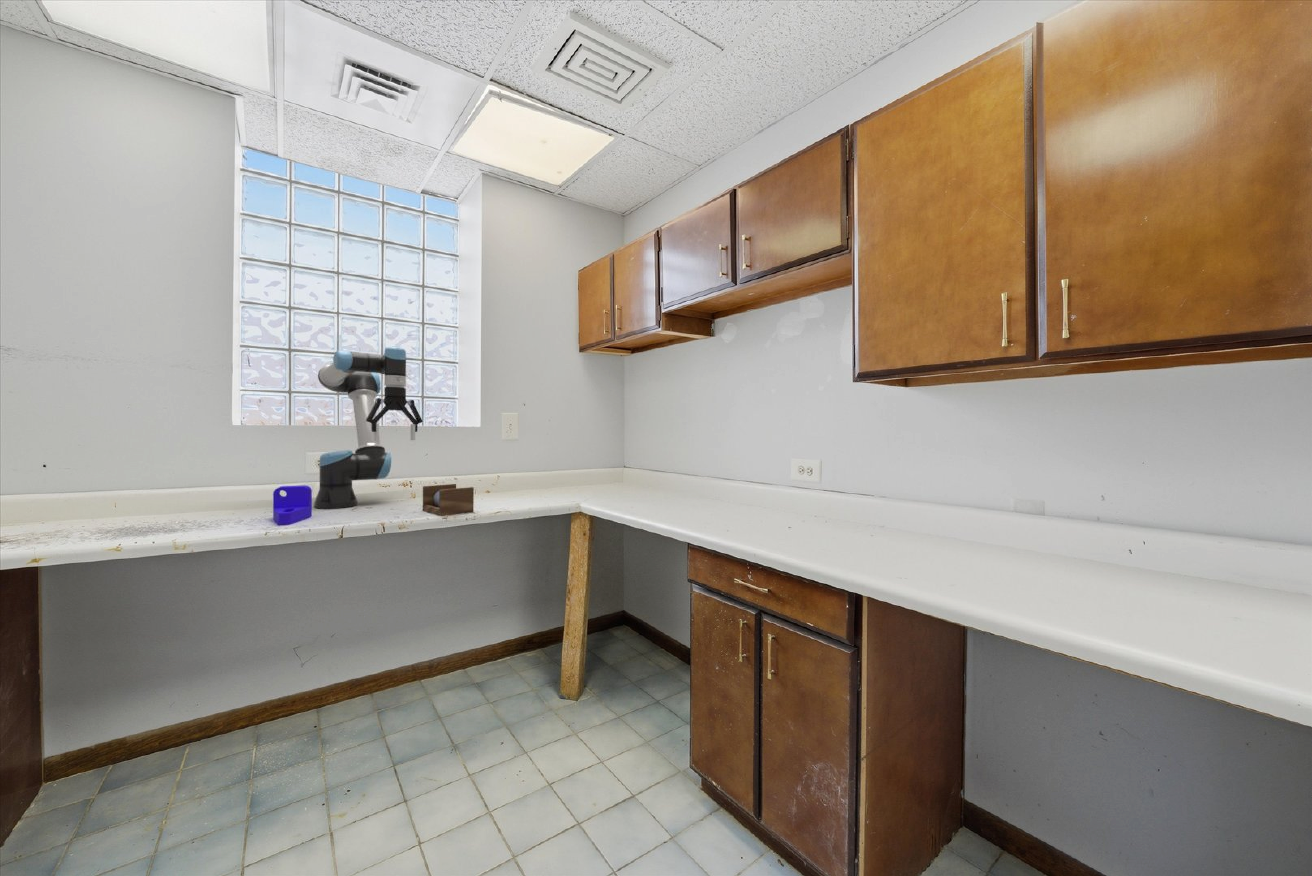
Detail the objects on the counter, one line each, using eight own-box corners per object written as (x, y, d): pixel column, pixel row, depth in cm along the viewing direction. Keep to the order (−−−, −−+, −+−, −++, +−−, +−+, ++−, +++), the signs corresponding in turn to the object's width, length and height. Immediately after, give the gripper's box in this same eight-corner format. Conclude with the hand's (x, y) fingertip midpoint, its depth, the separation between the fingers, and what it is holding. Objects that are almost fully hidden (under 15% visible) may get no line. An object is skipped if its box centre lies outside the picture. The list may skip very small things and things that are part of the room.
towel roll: (432, 507, 202) (433, 490, 202) (449, 506, 207) (450, 489, 207) (446, 511, 194) (446, 493, 193) (463, 510, 199) (463, 492, 199)
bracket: (276, 518, 182) (276, 486, 182) (311, 516, 187) (311, 485, 187) (263, 527, 166) (263, 492, 166) (303, 524, 171) (303, 490, 171)
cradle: (422, 510, 201) (422, 486, 201) (454, 507, 211) (454, 483, 211) (440, 516, 190) (440, 490, 190) (473, 511, 200) (473, 487, 200)
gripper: (363, 384, 184) (363, 440, 184) (431, 388, 202) (430, 440, 203) (356, 385, 189) (356, 440, 189) (423, 389, 207) (423, 439, 208)
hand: (395, 440), depth 196 cm, fingers open, 13 cm apart
